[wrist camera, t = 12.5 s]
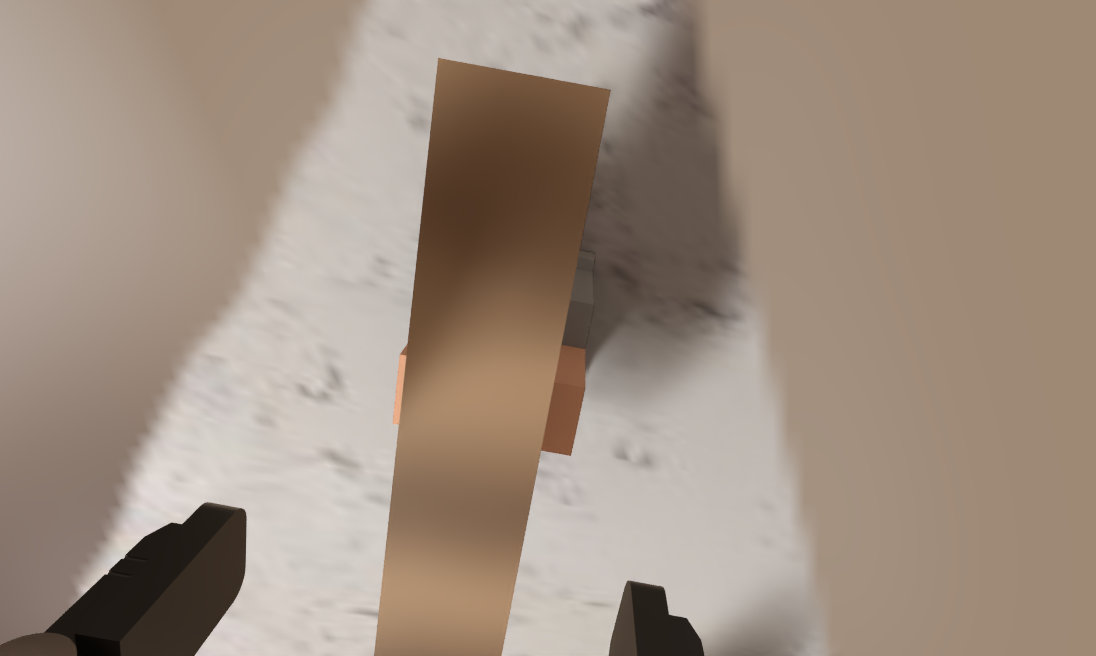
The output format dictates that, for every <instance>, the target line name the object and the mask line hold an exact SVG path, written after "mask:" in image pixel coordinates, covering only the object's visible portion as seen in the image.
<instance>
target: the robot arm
mask: <svg viewBox="0 0 1096 656" xmlns="http://www.w3.org/2000/svg"><path fill="white" fill-rule="evenodd" d="M245 565H246V512H245V510H244V509H242V508H236V507H231V506H225V505H220V504H214V503H209V502H207V503H204V504H202V505H201V506H200V507H199V508H198V509H197V510H196V511H195V512H194V513H193V514H192V515H191V516H190V517H189V518H188V519H187V520H186V521H185V522H184V523H183V524H177V523H170V524H168V525H166V526H164V527H162V528H160V529H158V530H156V531H155V532H153V533H151V534H149V535H147V536H145V537H144V538H143V539H142V540H141V541H140V542H139V543H138V544H136V545H135V546H134V547H133V548H132V549H131V550H130V551H129V552H128V553H127V554H126V555H125V558H124V559H121V560H120V561H119V562H118V563H117V564H116V565H114V566H113V567H112V568H111V569H110V570H109V573H108V575H104V576H103V577H102V578H101V579H100V580H99V581H98V582H97V583H96V584H95V585H93V586H92V587H91V588H90V589H89V590H88V591H87V592H86V593H85V594H84V595H83V596H82V597H81V598H80V599H79V600H78V601H77V602H76V603H75V604H74V605H72V606H71V607H70V608H69V610H67V611H66V612H65V613H64V614H63V615H62V616H61V617H60V618H59V619H58V620H57V621H56V622H55V623H54V624H53V625H51V626H50V627H49V628H48V629H47V630H46V631H45V632H44V633H35V634H30V635H25V636H21V637H18V638H15V639H12V640H10V641H7V642H5V643H3V644H1V645H0V656H194V655H195V654H196V653H197V651H198V650H199V649H200V647H201V646H202V644H203V643H204V642H205V640H206V639H207V638H208V636H209V635H210V633H211V632H212V631H213V629H214V628H215V627H216V625H217V624H218V622H219V621H220V620H221V618H222V617H223V616H224V614H225V613H226V611H227V610H228V609H229V607H230V606H231V605H232V603H233V602H234V600H235V598H236V597H237V595H238V593H239V591H240V588H241V585H242V583H243V579H244V575H245ZM609 656H704V651H703V647H702V642H701V639H700V638H699V636H698V635H697V633H696V632H695V630H694V629H693V627H692V626H691V624H690V623H689V621H688V620H687V618H683V617H677V616H672V615H669V612H668V606H667V600H666V594H665V590H664V588H663V587H661V586H656V585H650V584H645V583H639V582H634V581H627V583H626V585H625V588H624V592H623V596H622V600H621V604H620V608H619V611H618V615H617V619H616V623H615V627H614V631H613V634H612V639H611V644H610V650H609Z"/></svg>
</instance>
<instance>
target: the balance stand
mask: <svg viewBox="0 0 1096 656" xmlns="http://www.w3.org/2000/svg"><path fill="white" fill-rule="evenodd" d="M594 262H595V255H594V253H592V252H586V251H581V250H580V251H579V256H578V262H577V267H576V272H575V277H574V282H573V287H572V293H571V298H570V303H569V308H568V313H567V318H566V324H565V329H564V334H563V339H562V344H561V349H560V355H559V360H558V365H557V370H556V375H555V381H554V386H553V391H552V396H551V401H550V406H549V412H548V417H547V422H546V427H545V432H544V437H543V443H542V448H541V450H542V451H547V452H553V453H558V454H564V455H569V456H571V453H572V448H573V444H574V439H575V434H576V429H577V425H578V420H579V415H580V411H581V406H582V401H583V396H584V392H585V347H586V342H587V338H588V333H589V328H590V323H591V318H592V314H593V309H594V288H593V267H594ZM407 346H408V344H407ZM407 346H406V347H405V348H404V350H403V351H402V352H401V354H400V358H399V368H398V378H397V387H396V397H395V406H394V416H393V424H398V425H399V420H400V411H401V402H402V392H403V383H404V374H405V364H406V355H407Z"/></svg>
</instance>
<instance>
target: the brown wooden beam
mask: <svg viewBox="0 0 1096 656" xmlns="http://www.w3.org/2000/svg"><path fill="white" fill-rule="evenodd" d="M610 91H611V90H608V89H603V88H598V87H592V86H587V85H581V84H576V83H570V82H565V81H560V80H554V79H549V78H543V77H538V76H533V75H527V74H522V73H516V72H511V71H505V70H500V69H495V68H489V67H484V66H478V65H473V64H467V63H462V62H457V61H451V60H446V59H440V58H438V66H437V75H436V84H435V94H434V103H433V112H432V122H431V131H430V140H429V150H428V159H427V168H426V178H425V187H424V196H423V206H422V215H421V224H420V234H419V243H418V252H417V262H416V271H415V280H414V290H413V299H412V308H411V318H410V327H409V336H408V346H407V355H406V364H405V374H404V383H403V392H402V402H401V411H400V420H399V429H398V439H397V448H396V457H395V467H394V476H393V485H392V495H391V504H390V513H389V523H388V532H387V541H386V551H385V560H384V569H383V579H382V588H381V597H380V607H379V616H378V625H377V635H376V644H375V653H374V656H501V655H502V650H503V644H504V639H505V634H506V629H507V624H508V619H509V613H510V608H511V603H512V598H513V593H514V587H515V582H516V577H517V572H518V567H519V562H520V556H521V551H522V546H523V541H524V536H525V531H526V525H527V520H528V515H529V510H530V505H531V500H532V494H533V489H534V484H535V479H536V474H537V468H538V463H539V458H540V453H541V448H542V443H543V437H544V432H545V427H546V422H547V417H548V412H549V406H550V401H551V396H552V391H553V386H554V381H555V375H556V370H557V365H558V360H559V355H560V349H561V344H562V339H563V334H564V329H565V324H566V318H567V313H568V308H569V303H570V298H571V293H572V287H573V282H574V277H575V272H576V267H577V262H578V256H579V251H580V246H581V241H582V236H583V230H584V225H585V220H586V215H587V210H588V205H589V199H590V194H591V189H592V184H593V179H594V174H595V168H596V163H597V158H598V153H599V148H600V143H601V137H602V132H603V127H604V122H605V117H606V111H607V106H608V101H609V96H610Z"/></svg>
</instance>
